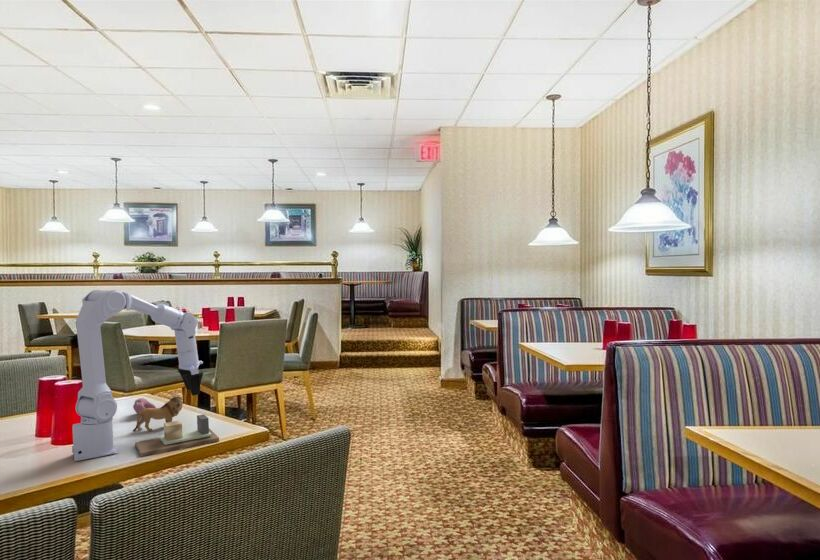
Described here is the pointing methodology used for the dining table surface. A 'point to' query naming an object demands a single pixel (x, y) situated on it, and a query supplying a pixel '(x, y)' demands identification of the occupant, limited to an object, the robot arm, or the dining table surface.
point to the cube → (173, 430)
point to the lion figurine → (160, 413)
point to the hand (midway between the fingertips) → (193, 391)
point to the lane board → (158, 447)
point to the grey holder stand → (194, 434)
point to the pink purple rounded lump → (142, 405)
